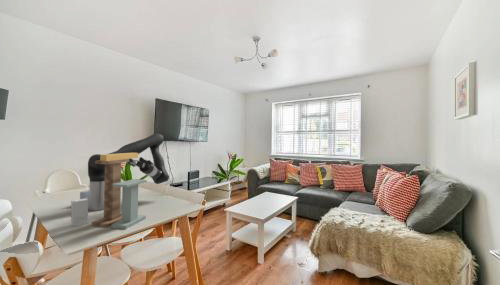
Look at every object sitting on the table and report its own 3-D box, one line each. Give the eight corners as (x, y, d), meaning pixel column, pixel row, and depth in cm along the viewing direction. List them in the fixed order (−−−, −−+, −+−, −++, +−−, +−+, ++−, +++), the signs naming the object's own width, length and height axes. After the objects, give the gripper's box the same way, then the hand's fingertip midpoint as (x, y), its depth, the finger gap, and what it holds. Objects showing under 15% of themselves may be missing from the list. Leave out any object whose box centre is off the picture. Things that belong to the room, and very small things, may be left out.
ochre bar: (100, 160, 101) (100, 154, 101) (132, 157, 123) (132, 152, 123) (106, 160, 100) (106, 154, 100) (138, 157, 122) (138, 152, 122)
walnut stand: (91, 225, 101) (92, 160, 101) (114, 215, 114) (115, 158, 114) (108, 227, 99) (110, 161, 99) (130, 216, 113) (131, 159, 113)
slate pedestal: (111, 227, 99) (112, 184, 99) (132, 217, 112) (133, 179, 112) (126, 229, 97) (127, 185, 97) (145, 218, 111) (146, 179, 111)
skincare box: (86, 221, 106) (86, 197, 106) (88, 223, 103) (88, 199, 103) (70, 224, 101) (70, 200, 101) (72, 227, 98) (72, 202, 98)
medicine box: (85, 206, 129) (85, 192, 129) (79, 205, 130) (79, 191, 130) (96, 202, 137) (97, 189, 137) (91, 202, 138) (91, 189, 138)
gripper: (141, 163, 138) (125, 152, 124) (160, 164, 136) (146, 153, 122) (137, 173, 134) (120, 163, 120) (156, 174, 132) (142, 164, 118)
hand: (133, 158), depth 121 cm, fingers open, 8 cm apart
